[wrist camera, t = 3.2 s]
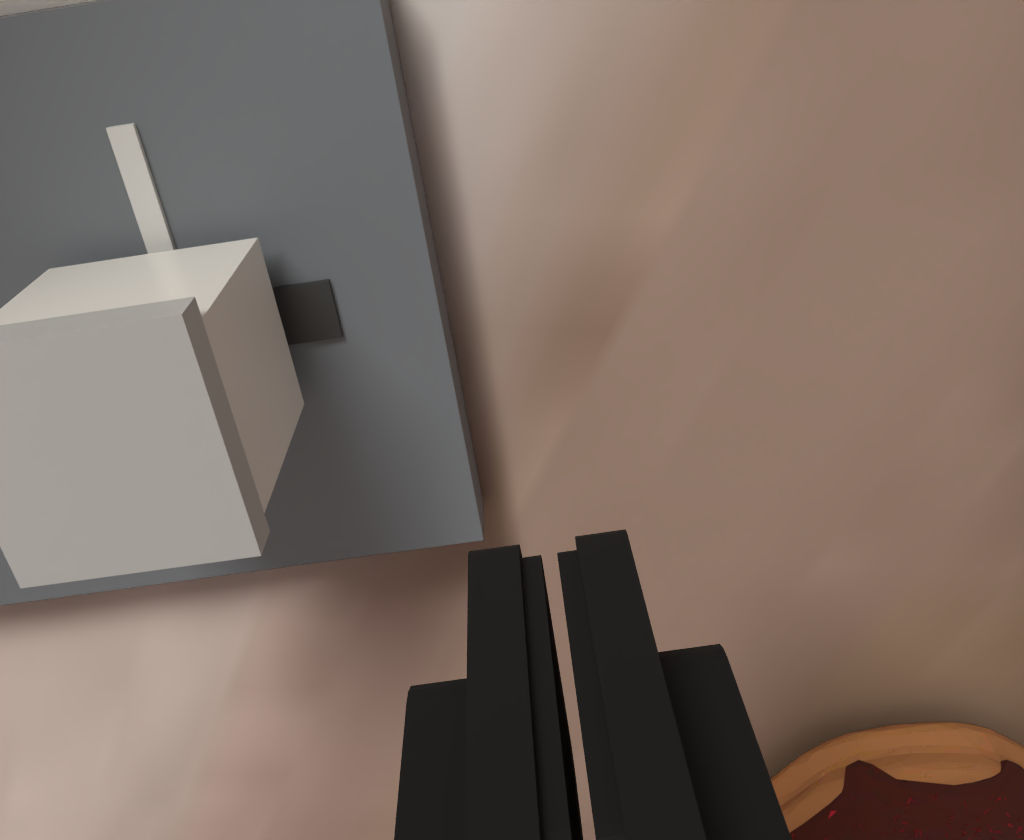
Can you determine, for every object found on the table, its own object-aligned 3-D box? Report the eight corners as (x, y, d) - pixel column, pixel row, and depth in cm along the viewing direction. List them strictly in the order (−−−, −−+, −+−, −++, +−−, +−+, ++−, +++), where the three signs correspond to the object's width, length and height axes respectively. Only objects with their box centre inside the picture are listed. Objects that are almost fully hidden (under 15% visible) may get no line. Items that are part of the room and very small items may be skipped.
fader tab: (252, 218, 17) (181, 314, 13) (308, 419, 19) (261, 555, 15) (41, 250, 18) (-94, 354, 14) (118, 445, 20) (20, 588, 15)
